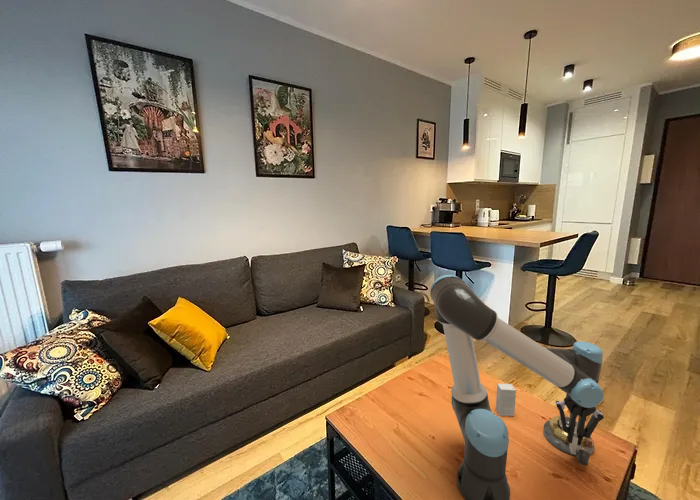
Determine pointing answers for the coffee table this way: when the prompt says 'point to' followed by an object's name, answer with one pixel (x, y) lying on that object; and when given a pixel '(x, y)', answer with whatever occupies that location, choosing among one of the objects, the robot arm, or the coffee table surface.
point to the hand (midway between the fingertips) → (572, 450)
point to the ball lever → (561, 435)
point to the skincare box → (505, 399)
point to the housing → (561, 445)
